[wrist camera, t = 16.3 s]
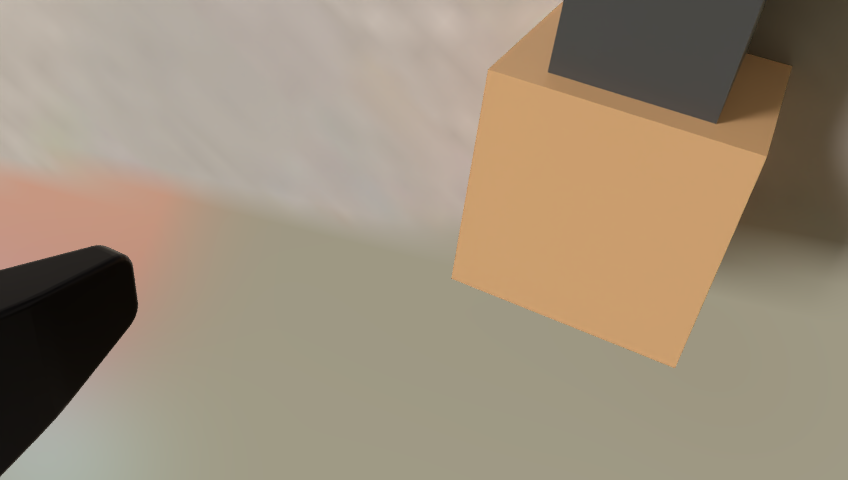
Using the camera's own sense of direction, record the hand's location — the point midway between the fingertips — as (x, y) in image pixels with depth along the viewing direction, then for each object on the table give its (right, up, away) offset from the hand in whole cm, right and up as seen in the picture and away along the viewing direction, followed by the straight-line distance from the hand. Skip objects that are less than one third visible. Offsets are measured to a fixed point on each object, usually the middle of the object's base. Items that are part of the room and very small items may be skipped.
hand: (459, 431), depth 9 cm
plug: (+4, +8, +4) cm, 9 cm away
